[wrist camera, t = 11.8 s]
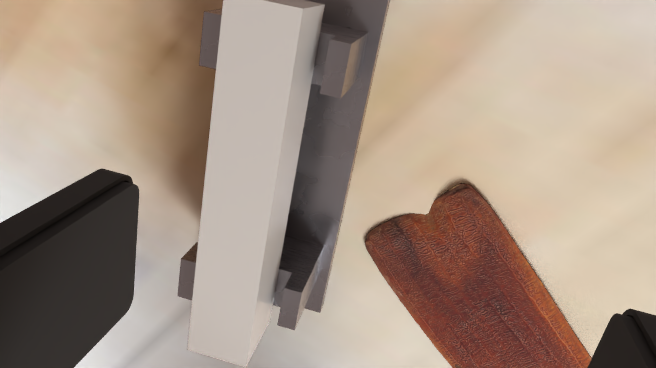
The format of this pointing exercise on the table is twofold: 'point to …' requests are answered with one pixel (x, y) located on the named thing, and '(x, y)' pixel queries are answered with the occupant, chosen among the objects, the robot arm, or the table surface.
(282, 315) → the twin post stand
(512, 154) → the table surface
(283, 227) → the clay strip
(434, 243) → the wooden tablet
